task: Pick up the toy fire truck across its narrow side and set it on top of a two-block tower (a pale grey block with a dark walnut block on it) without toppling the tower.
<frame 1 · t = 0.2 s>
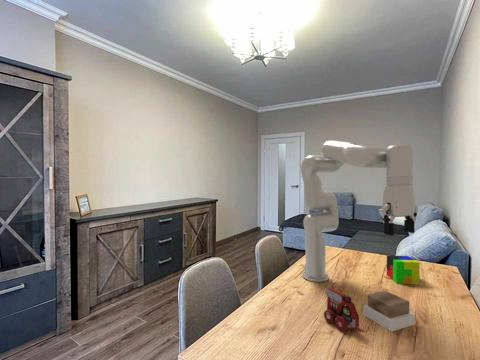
hand: (399, 233, 88), 31 cm above the table, tool pointing down, fingers open, 9 cm apart
grey block: (388, 320, 92), on the table, touching walnut block
walnut block: (387, 309, 92), point 3 cm above the table, touching grey block
toy fire truck: (341, 324, 89), on the table
puzzle toy: (402, 279, 127), on the table
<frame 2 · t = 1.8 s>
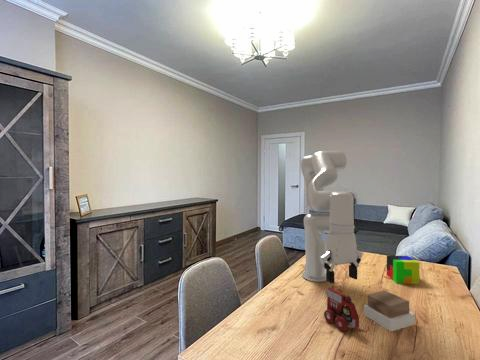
hand: (341, 280, 88), 15 cm above the table, tool pointing down, fingers open, 9 cm apart
grey block: (388, 320, 92), on the table
walnut block: (387, 309, 92), point 4 cm above the table
everything else where it was.
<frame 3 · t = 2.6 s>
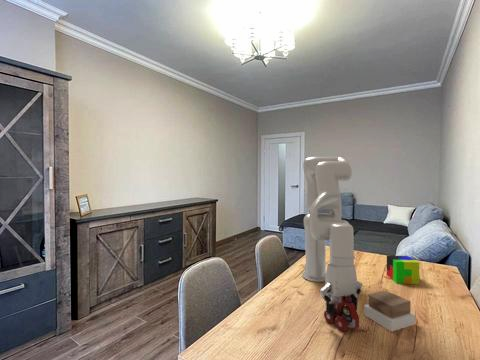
hand: (341, 311, 89), 4 cm above the table, tool pointing down, fingers open, 9 cm apart
nothing on the table moved.
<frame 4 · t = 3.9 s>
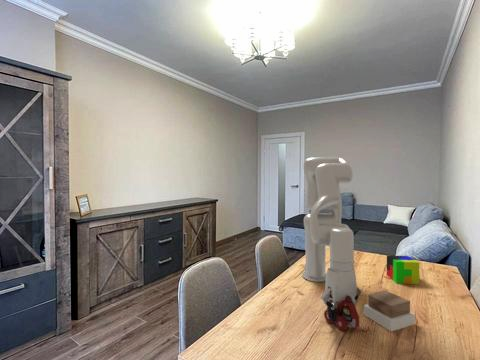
hand: (341, 316, 89), 2 cm above the table, tool pointing down, fingers closed on toy fire truck, 7 cm apart
grey block: (388, 320, 92), on the table, touching walnut block
walnut block: (388, 309, 92), point 3 cm above the table, touching grey block
toy fire truck: (341, 324, 89), on the table, touching gripper
everything else where it was.
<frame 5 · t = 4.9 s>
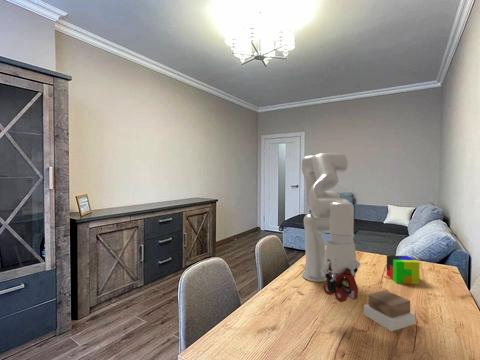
hand: (340, 289, 90), 11 cm above the table, tool pointing down, fingers closed on toy fire truck, 7 cm apart
toy fire truck: (340, 296, 90), point 9 cm above the table, touching gripper
everything else where it was.
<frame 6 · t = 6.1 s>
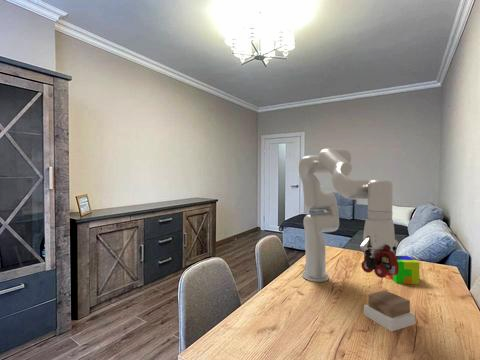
hand: (379, 266, 91), 19 cm above the table, tool pointing down, fingers closed on toy fire truck, 7 cm apart
toy fire truck: (379, 274, 91), point 16 cm above the table, touching gripper
everything else where it was.
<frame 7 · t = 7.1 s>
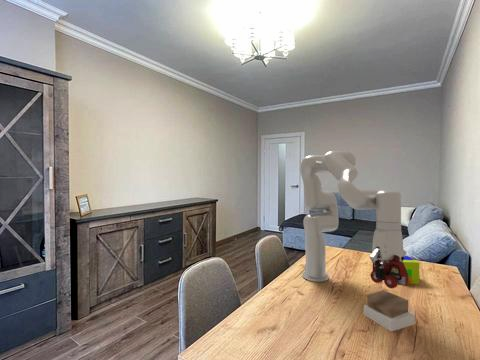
hand: (388, 276, 91), 15 cm above the table, tool pointing down, fingers closed on toy fire truck, 7 cm apart
toy fire truck: (388, 284, 91), point 12 cm above the table, touching gripper
everything else where it was.
when the fingers open (12 cm above the table, at t = 8.6 s): toy fire truck drops 2 cm, resting on walnut block.
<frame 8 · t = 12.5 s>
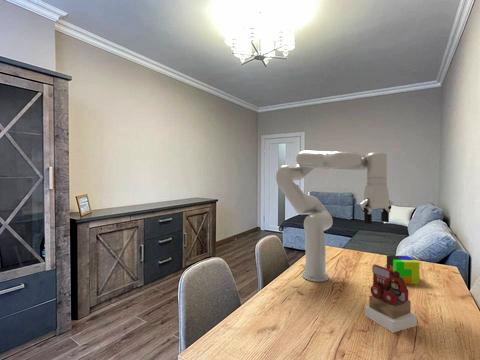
hand: (376, 222, 111), 30 cm above the table, tool pointing down, fingers open, 9 cm apart
walnut block: (389, 309, 91), point 3 cm above the table, touching grey block, toy fire truck
toy fire truck: (388, 299, 91), point 7 cm above the table, touching walnut block
everything else where it was.
at the end: toy fire truck inside the target area on the walnut block (0.5 cm from its centre), point 3.8 cm above the walnut block's base; walnut block 0.4 cm off-centre on the grey block, point 4.0 cm above the grey block's base; toy fire truck touching walnut block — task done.
